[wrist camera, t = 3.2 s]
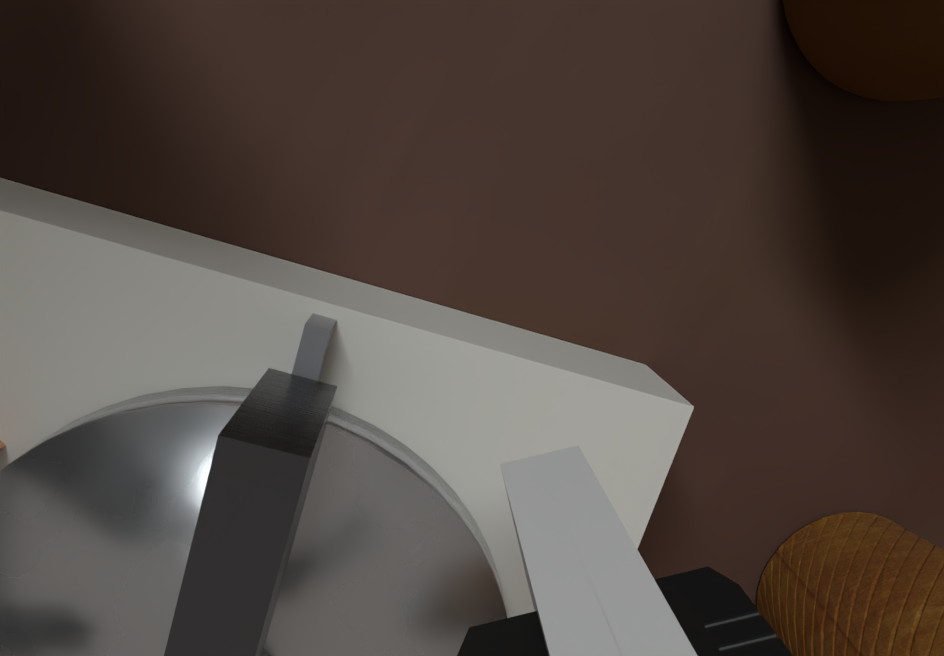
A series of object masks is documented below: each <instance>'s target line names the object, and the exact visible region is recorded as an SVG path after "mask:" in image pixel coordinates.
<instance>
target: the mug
mask: <svg viewBox="0 0 944 656" xmlns="http://www.w3.org/2000/svg"><path fill="white" fill-rule="evenodd" d="M783 5H784V10H785V15H786V18H787V21H788V24H789V27H790V30H791V33H792V35H793V37H794V39H795V41H796V43H797V45H798V47H799V49H800V50H801V52H802V53H803V55H804V56H805V58H806V59H807V60H808V62H809V63H810V64H811V65H812V66H813V67H814V68H815V69H816V70H817V72H818V73H820V74H821V75H822V76H823V77H824V78H826V79H827V80H828V81H829V82H831V83H832V84H834V85H836V86H837V87H839V88H841V89H843V90H845V91H847V92H850V93H852V94H855V95H857V96H862V97H866V98H870V99H875V100H882V101H914V100H926V99H934V98H942V97H944V0H783Z"/></svg>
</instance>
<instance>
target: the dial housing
mask: <svg viewBox="0 0 944 656" xmlns="http://www.w3.org/2000/svg"><path fill="white" fill-rule="evenodd" d="M268 368H271V369H275V370H278V371H282V372H286V373H290V374H293V375H297V376H301V377H305V378H308V379H312V380H316V381H320V382H323V383H327V384H331V385H335V386H337V389H336V393H335V396H334V400H333V403H332V407H335V408H339V409H341V410H343V411H345V412H347V413H350V414H352V415H354V416H356V417H358V418H360V419H362V420H364V421H367V422H369V423H371V424H373V425H375V426H376V427H378V428H380V429H381V430H383V431H384V432H386V433H387V434H389V435H391V436H392V437H394V438H395V439H397V440H398V441H400V442H402V443H403V444H405V445H406V446H407V447H409V448H410V449H411V450H412V451H413V452H415V453H416V454H417V455H418V456H419V457H421V458H422V459H423V460H424V461H425V462H427V463H428V464H429V465H430V466H431V467H433V468H434V469H435V471H436V472H437V473H438V474H439V475H440V476H441V477H442V478H443V479H444V480H445V481H446V483H447V484H448V485H449V486H450V487H451V488H452V489H453V490H454V491H455V492H456V493H457V495H458V496H459V498H460V499H461V501H462V502H463V504H464V505H465V506H466V508H467V509H468V511H469V512H470V514H471V515H472V517H473V518H474V520H475V521H476V523H477V525H478V527H479V529H480V531H481V533H482V535H483V537H484V539H485V541H486V543H487V545H488V547H489V549H490V551H491V554H492V558H493V561H494V564H495V567H496V570H497V573H498V576H499V579H500V583H501V588H502V594H503V599H504V604H505V609H506V614H507V618H510V617H514V616H518V615H522V614H526V613H530V612H534V611H535V610H534V606H533V603H532V599H531V595H530V591H529V586H528V582H527V578H526V573H525V569H524V565H523V561H522V556H521V552H520V548H519V543H518V539H517V535H516V531H515V526H514V522H513V518H512V513H511V509H510V505H509V501H508V496H507V492H506V488H505V483H504V479H503V475H502V470H501V466H500V464H502V463H506V462H511V461H515V460H519V459H523V458H527V457H532V456H536V455H540V454H544V453H548V452H552V451H557V450H561V449H565V448H569V447H573V446H579V448H580V449H581V451H582V453H583V455H584V456H585V458H586V460H587V462H588V463H589V465H590V467H591V469H592V470H593V472H594V474H595V476H596V478H597V479H598V481H599V483H600V485H601V486H602V488H603V490H604V492H605V493H606V495H607V497H608V499H609V500H610V502H611V504H612V506H613V508H614V509H615V511H616V513H617V515H618V516H619V518H620V520H621V522H622V523H623V525H624V527H625V529H626V530H627V532H628V534H629V536H630V537H631V539H632V541H633V543H634V545H635V546H636V548H637V549H638V546H639V544H640V541H641V539H642V536H643V534H644V531H645V529H646V526H647V524H648V521H649V519H650V516H651V514H652V511H653V509H654V506H655V504H656V501H657V499H658V496H659V494H660V491H661V489H662V486H663V484H664V481H665V479H666V476H667V474H668V471H669V469H670V466H671V464H672V461H673V459H674V456H675V454H676V451H677V449H678V446H679V443H680V441H681V438H682V436H683V433H684V431H685V428H686V426H687V423H688V421H689V418H690V416H691V413H692V411H693V408H694V406H693V405H691V404H690V403H689V402H688V401H687V400H686V399H685V398H683V397H682V396H681V395H680V394H679V393H678V392H677V391H675V390H674V389H673V388H672V387H671V386H670V385H668V384H667V383H666V382H665V381H664V380H663V379H662V378H660V377H659V376H658V375H657V374H656V373H655V372H653V371H652V370H651V369H650V368H649V367H648V366H647V365H645V364H642V363H638V362H635V361H631V360H628V359H625V358H621V357H618V356H614V355H611V354H607V353H604V352H600V351H597V350H593V349H590V348H587V347H583V346H580V345H576V344H573V343H569V342H566V341H562V340H559V339H556V338H552V337H549V336H545V335H542V334H538V333H535V332H531V331H528V330H524V329H521V328H518V327H514V326H511V325H507V324H504V323H500V322H497V321H493V320H490V319H486V318H483V317H480V316H476V315H473V314H469V313H466V312H462V311H459V310H455V309H452V308H449V307H445V306H442V305H438V304H435V303H431V302H428V301H424V300H421V299H417V298H414V297H411V296H407V295H404V294H400V293H397V292H393V291H390V290H386V289H383V288H379V287H376V286H373V285H369V284H366V283H362V282H359V281H355V280H352V279H348V278H345V277H342V276H338V275H335V274H331V273H328V272H324V271H321V270H317V269H314V268H310V267H307V266H304V265H300V264H297V263H293V262H290V261H286V260H283V259H279V258H276V257H273V256H269V255H266V254H262V253H259V252H255V251H252V250H248V249H245V248H241V247H238V246H235V245H231V244H228V243H224V242H221V241H217V240H214V239H210V238H207V237H203V236H200V235H197V234H193V233H190V232H186V231H183V230H179V229H176V228H172V227H169V226H166V225H162V224H159V223H155V222H152V221H148V220H145V219H141V218H138V217H134V216H131V215H128V214H124V213H121V212H117V211H114V210H110V209H107V208H103V207H100V206H96V205H93V204H90V203H86V202H83V201H79V200H76V199H72V198H69V197H65V196H62V195H59V194H55V193H52V192H48V191H45V190H41V189H38V188H34V187H31V186H27V185H24V184H21V183H17V182H14V181H10V180H7V179H3V178H0V471H1V470H2V469H3V468H4V467H5V466H7V465H8V464H10V463H11V462H12V461H14V460H15V459H16V458H18V457H19V456H21V455H22V454H23V453H25V452H26V451H28V450H29V449H30V448H32V447H33V446H34V445H36V444H37V443H39V442H40V441H42V440H43V439H45V438H47V437H48V436H50V435H51V434H53V433H55V432H56V431H58V430H59V429H61V428H62V427H64V426H66V425H67V424H69V423H70V422H72V421H75V420H77V419H79V418H81V417H83V416H86V415H88V414H90V413H92V412H94V411H97V410H99V409H101V408H103V407H105V406H108V405H112V404H115V403H118V402H122V401H125V400H128V399H131V398H135V397H138V396H141V395H145V394H151V393H157V392H162V391H168V390H174V389H180V388H192V387H213V386H230V387H243V388H254V387H255V386H256V384H257V383H258V382H259V380H260V379H261V378H262V376H263V375H264V374H265V372H266V371H267V370H268Z"/></svg>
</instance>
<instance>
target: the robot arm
mask: <svg viewBox="0 0 944 656" xmlns="http://www.w3.org/2000/svg"><path fill="white" fill-rule="evenodd" d="M500 466H501V470H502V475H503V479H504V483H505V488H506V492H507V496H508V501H509V505H510V509H511V513H512V518H513V522H514V526H515V531H516V535H517V539H518V543H519V548H520V552H521V556H522V561H523V565H524V569H525V573H526V578H527V582H528V586H529V591H530V595H531V599H532V603H533V606H534V610H535V611H534V612H530V613H526V614H522V615H518V616H514V617H510V618H505V619H501V620H497V621H493V622H489V623H485V624H481V625H477V626H473V627H469V629H468V631H467V634H466V636H465V638H464V641H463V643H462V645H461V648H460V650H459V652H458V654H457V656H793V655H792V654H791V652H790V651H789V650H788V648H787V647H786V646H785V644H784V643H783V642H782V640H781V639H780V638H777V636H776V633H775V631H774V630H773V629H772V627H771V626H770V625H769V623H768V622H767V621H766V620H765V618H764V617H763V616H760V614H759V610H758V609H757V608H756V606H755V605H754V604H753V603H752V601H751V600H750V599H749V597H748V596H747V595H746V593H745V592H744V591H743V589H742V588H741V587H740V586H739V584H737V583H735V582H733V581H732V580H730V579H728V578H727V577H725V576H723V575H722V574H720V573H718V572H717V571H715V570H713V569H712V568H710V567H705V568H700V569H696V570H692V571H688V572H684V573H680V574H676V575H672V576H667V577H663V578H659V579H655V580H654V578H653V576H652V575H651V573H650V571H649V569H648V567H647V566H646V564H645V562H644V560H643V559H642V557H641V555H640V553H639V552H638V550H637V548H636V546H635V545H634V543H633V541H632V539H631V537H630V536H629V534H628V532H627V530H626V529H625V527H624V525H623V523H622V522H621V520H620V518H619V516H618V515H617V513H616V511H615V509H614V508H613V506H612V504H611V502H610V500H609V499H608V497H607V495H606V493H605V492H604V490H603V488H602V486H601V485H600V483H599V481H598V479H597V478H596V476H595V474H594V472H593V470H592V469H591V467H590V465H589V463H588V462H587V460H586V458H585V456H584V455H583V453H582V451H581V449H580V448H579V446H573V447H569V448H565V449H561V450H557V451H552V452H548V453H544V454H540V455H536V456H532V457H527V458H523V459H519V460H515V461H511V462H506V463H502V464H500Z"/></svg>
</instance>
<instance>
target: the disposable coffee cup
mask: <svg viewBox="0 0 944 656" xmlns="http://www.w3.org/2000/svg"><path fill="white" fill-rule="evenodd" d="M757 609H758V610H759V614H760V616H763V617H764V618H765V620H766V621H767V622H768V623H769V625H770V626H771V627H772V629H773V630H774V631H775V633H776V636H777V638H780V639H781V640H782V642H783V643H784V644H785V646H786V647H787V648H788V650H789V651H790V652H791V654H792V655H793V656H944V550H943V549H941V548H939V547H938V546H934V545H933V544H932V543H930V542H929V541H927V540H925V539H923V538H921V537H920V538H919V536H918V535H916V534H914V533H912V532H910V531H909V530H905V528H903V527H901V526H900V525H898V524H896V523H895V522H893V521H891V520H889V519H888V518H885V517H882V516H879V515H876V514H872V513H863V512H848V513H839V514H835V515H831V516H827V517H823V518H821V519H819V520H817V521H815V522H813V523H811V524H809V525H807V526H805V527H803V528H802V529H800V530H799V531H797V532H796V533H794V534H793V535H792V536H790V537H789V538H788V539H787V540H786V541H785V542H784V543H783V544H782V545H781V546H780V547H779V548H778V550H777V551H776V552H775V554H774V555H773V557H772V558H771V559H770V561H769V562H768V564H767V566H766V568H765V570H764V572H763V574H762V577H761V580H760V584H759V587H758V593H757Z"/></svg>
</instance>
